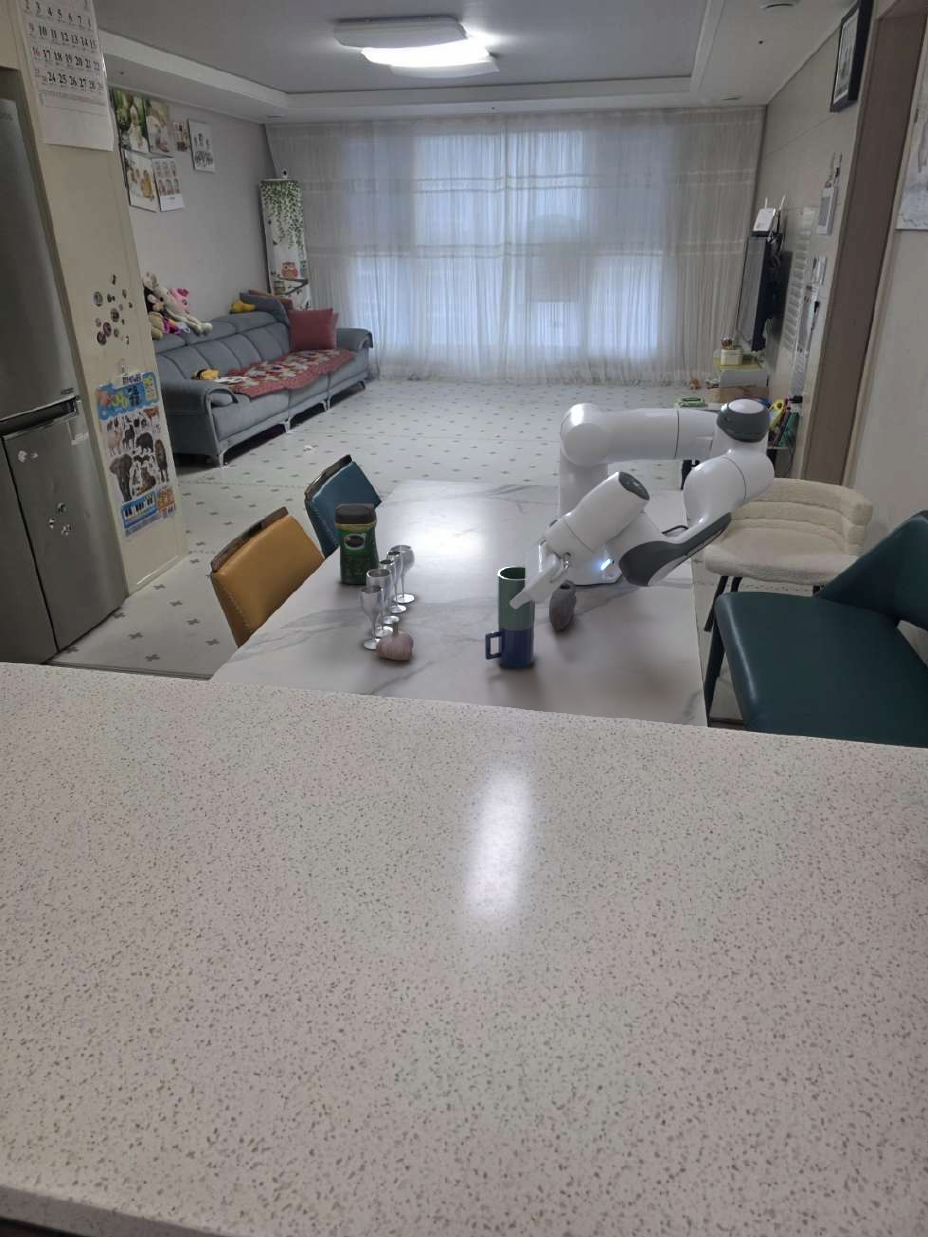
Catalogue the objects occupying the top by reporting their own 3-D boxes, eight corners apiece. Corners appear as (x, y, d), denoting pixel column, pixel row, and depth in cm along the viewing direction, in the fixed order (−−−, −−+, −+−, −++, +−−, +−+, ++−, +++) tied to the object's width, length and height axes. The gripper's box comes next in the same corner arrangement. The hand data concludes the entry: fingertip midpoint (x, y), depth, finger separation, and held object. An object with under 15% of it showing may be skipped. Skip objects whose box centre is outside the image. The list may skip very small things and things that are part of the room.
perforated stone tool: (567, 638, 166) (568, 606, 163) (541, 635, 167) (542, 603, 164) (579, 608, 179) (580, 578, 176) (555, 605, 180) (555, 576, 177)
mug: (523, 650, 161) (523, 612, 158) (539, 664, 156) (540, 626, 152) (478, 659, 158) (478, 622, 154) (493, 674, 152) (492, 636, 149)
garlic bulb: (417, 663, 157) (415, 625, 154) (379, 667, 156) (376, 629, 152) (411, 645, 164) (409, 609, 160) (374, 649, 162) (371, 613, 159)
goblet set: (385, 650, 162) (381, 588, 156) (357, 648, 163) (352, 586, 157) (419, 594, 187) (416, 539, 181) (394, 593, 188) (391, 538, 182)
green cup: (511, 612, 158) (511, 563, 154) (541, 620, 154) (542, 571, 150) (490, 624, 153) (490, 574, 149) (521, 633, 150) (521, 583, 145)
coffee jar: (383, 573, 199) (378, 499, 191) (378, 585, 192) (373, 509, 184) (343, 573, 200) (337, 499, 192) (337, 585, 193) (330, 509, 185)
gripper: (583, 578, 138) (524, 630, 143) (577, 538, 156) (525, 585, 161) (557, 553, 136) (498, 606, 141) (554, 515, 155) (502, 563, 160)
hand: (512, 594), depth 151 cm, fingers open, 8 cm apart
